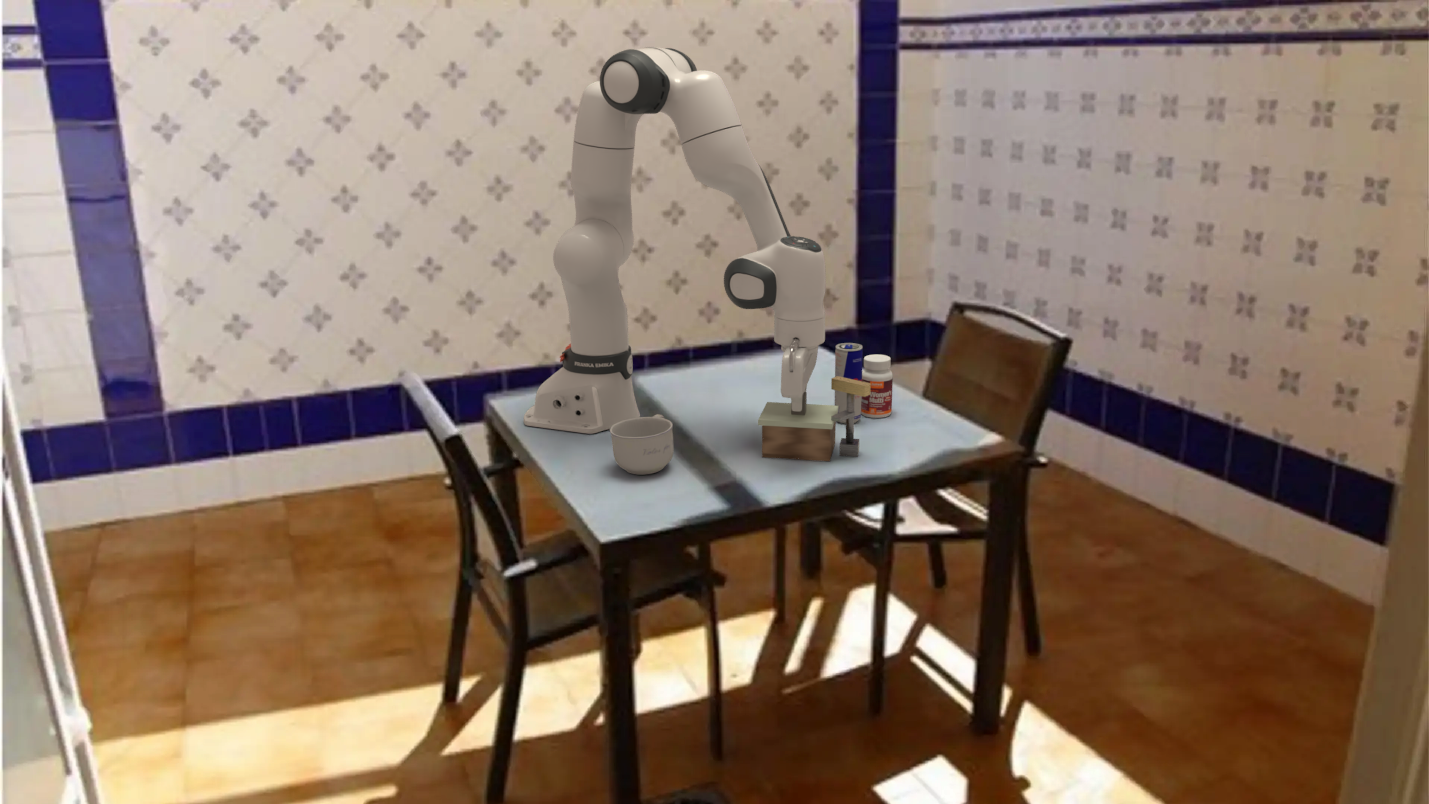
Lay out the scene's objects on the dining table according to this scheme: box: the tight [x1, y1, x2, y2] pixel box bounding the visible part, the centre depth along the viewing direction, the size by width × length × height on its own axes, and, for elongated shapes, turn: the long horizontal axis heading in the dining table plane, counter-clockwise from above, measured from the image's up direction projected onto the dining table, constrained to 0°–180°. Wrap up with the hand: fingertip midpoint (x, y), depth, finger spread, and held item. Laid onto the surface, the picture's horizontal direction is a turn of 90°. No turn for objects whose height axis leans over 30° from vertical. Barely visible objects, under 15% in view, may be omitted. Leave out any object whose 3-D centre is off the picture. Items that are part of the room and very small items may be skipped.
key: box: [830, 376, 871, 442], centre depth 208 cm, size 5×7×11 cm
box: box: [761, 421, 837, 462], centre depth 212 cm, size 12×9×6 cm
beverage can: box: [834, 342, 864, 425], centre depth 226 cm, size 5×5×15 cm
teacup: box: [609, 413, 675, 476], centre depth 206 cm, size 14×11×8 cm
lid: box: [757, 391, 838, 429], centre depth 211 cm, size 13×10×5 cm
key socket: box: [839, 437, 860, 458], centre depth 211 cm, size 3×3×2 cm
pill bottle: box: [861, 354, 894, 419], centre depth 230 cm, size 6×6×11 cm
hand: (798, 406), depth 210 cm, fingers closed on lid, 2 cm apart
